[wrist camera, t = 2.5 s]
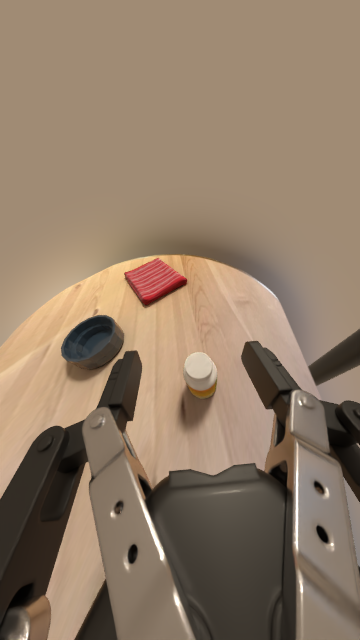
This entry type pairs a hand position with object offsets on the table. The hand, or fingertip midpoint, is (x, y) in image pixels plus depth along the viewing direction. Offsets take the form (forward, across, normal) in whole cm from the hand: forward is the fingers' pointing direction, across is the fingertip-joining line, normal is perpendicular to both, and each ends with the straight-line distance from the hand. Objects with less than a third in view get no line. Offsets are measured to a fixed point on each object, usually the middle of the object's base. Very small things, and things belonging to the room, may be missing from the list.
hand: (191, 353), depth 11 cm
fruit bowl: (+21, +22, +18) cm, 35 cm away
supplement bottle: (+8, -3, +18) cm, 20 cm away
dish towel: (+46, +9, +10) cm, 48 cm away
